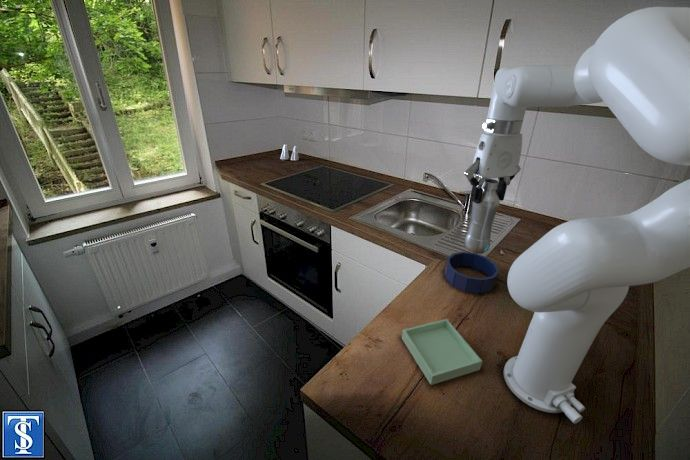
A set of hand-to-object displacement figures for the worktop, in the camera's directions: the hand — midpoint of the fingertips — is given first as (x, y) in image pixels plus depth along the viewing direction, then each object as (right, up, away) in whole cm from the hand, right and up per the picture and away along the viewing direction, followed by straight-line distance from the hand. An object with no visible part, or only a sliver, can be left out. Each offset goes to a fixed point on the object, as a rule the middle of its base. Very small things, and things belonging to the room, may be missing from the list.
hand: (486, 199), depth 80 cm
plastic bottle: (0, -14, +7) cm, 15 cm away
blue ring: (+2, -23, +17) cm, 29 cm away
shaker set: (-74, +40, +134) cm, 158 cm away
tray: (-15, -36, -8) cm, 40 cm away
